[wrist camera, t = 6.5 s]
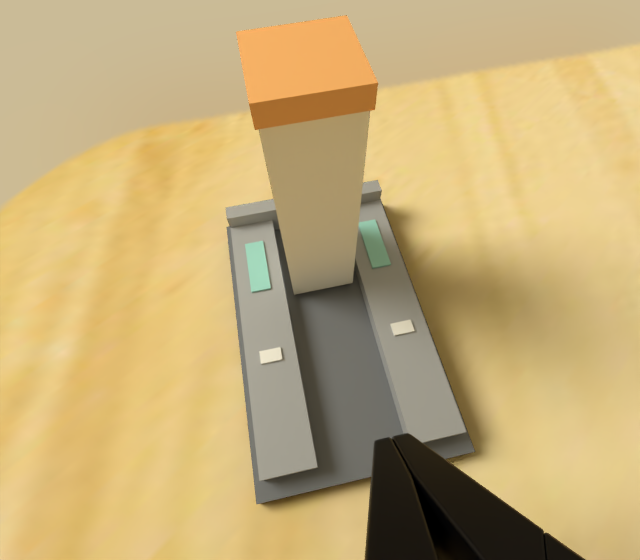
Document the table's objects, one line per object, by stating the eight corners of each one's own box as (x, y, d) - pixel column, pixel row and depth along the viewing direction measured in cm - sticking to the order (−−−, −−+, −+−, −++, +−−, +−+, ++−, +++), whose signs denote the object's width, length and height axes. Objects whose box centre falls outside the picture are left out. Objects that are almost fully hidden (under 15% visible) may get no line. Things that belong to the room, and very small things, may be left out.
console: (470, 452, 16) (490, 449, 14) (258, 503, 16) (247, 507, 14) (379, 204, 23) (383, 177, 21) (229, 232, 23) (218, 207, 20)
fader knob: (354, 284, 20) (377, 82, 10) (292, 296, 19) (249, 103, 9) (340, 233, 21) (346, 15, 11) (282, 244, 21) (235, 31, 11)
